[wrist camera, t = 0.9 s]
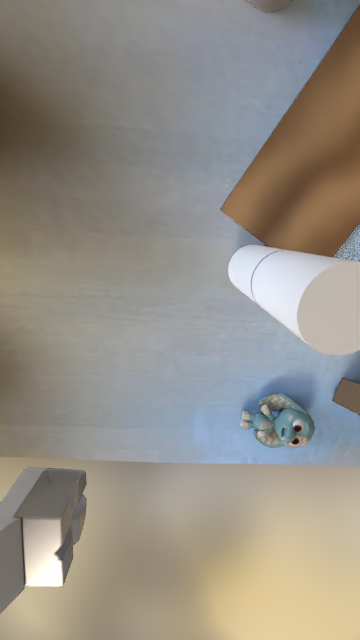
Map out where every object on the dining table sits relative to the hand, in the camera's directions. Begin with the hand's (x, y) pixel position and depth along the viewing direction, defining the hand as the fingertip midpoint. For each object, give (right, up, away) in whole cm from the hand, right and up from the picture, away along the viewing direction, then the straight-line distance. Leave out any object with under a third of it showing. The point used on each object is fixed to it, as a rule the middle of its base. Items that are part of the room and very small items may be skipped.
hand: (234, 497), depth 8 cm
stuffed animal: (+15, -12, +46) cm, 50 cm away
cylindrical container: (+9, +13, +38) cm, 41 cm away
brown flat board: (+20, +27, +35) cm, 48 cm away
